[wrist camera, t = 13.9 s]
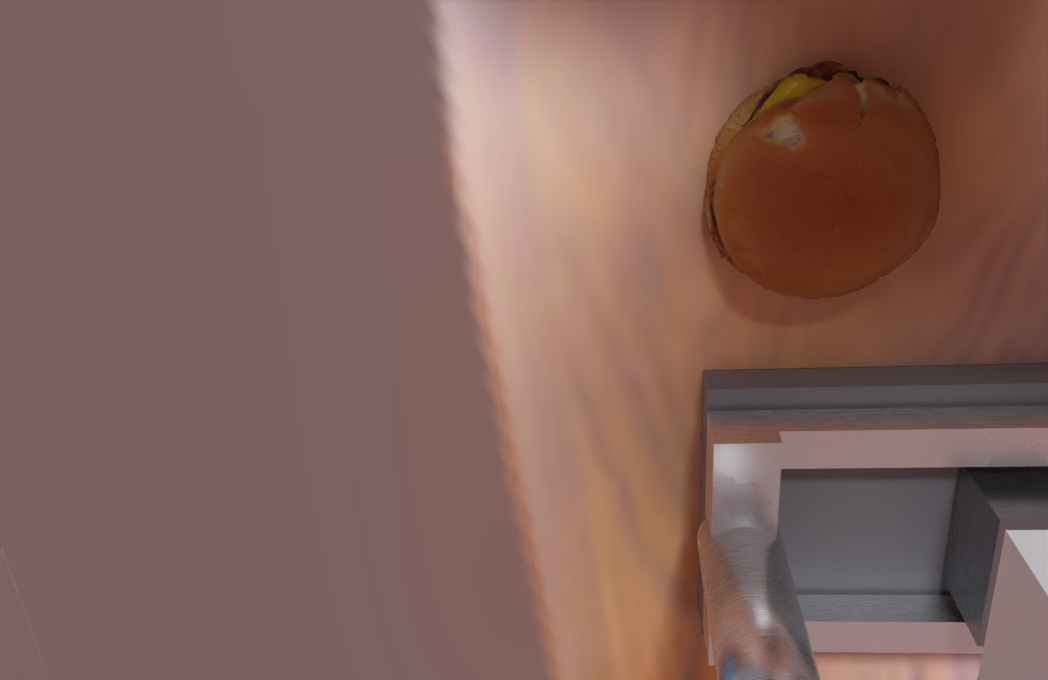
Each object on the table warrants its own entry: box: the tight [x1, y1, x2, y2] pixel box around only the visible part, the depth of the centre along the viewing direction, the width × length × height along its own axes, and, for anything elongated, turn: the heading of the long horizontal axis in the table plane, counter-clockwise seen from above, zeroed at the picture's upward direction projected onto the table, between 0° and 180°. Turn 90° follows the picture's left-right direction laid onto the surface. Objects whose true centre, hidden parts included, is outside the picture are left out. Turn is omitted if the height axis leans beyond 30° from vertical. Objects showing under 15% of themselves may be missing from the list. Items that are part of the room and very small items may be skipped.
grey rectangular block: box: [942, 466, 1048, 646], centre depth 43 cm, size 7×4×5 cm, turn 4°
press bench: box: [699, 363, 1048, 634], centre depth 46 cm, size 15×28×2 cm, turn 94°
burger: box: [704, 61, 940, 299], centre depth 39 cm, size 10×9×5 cm
